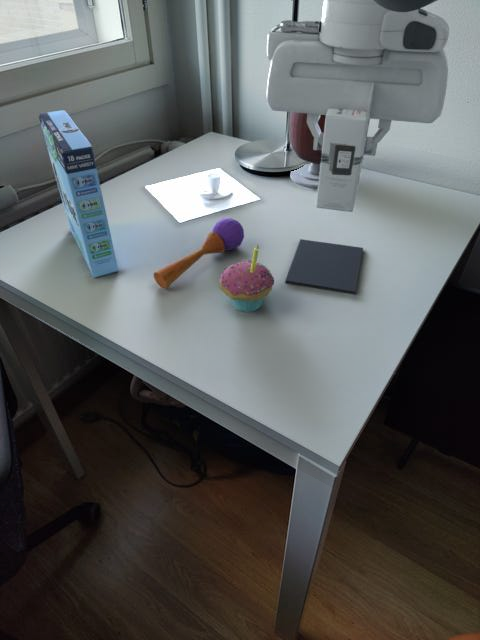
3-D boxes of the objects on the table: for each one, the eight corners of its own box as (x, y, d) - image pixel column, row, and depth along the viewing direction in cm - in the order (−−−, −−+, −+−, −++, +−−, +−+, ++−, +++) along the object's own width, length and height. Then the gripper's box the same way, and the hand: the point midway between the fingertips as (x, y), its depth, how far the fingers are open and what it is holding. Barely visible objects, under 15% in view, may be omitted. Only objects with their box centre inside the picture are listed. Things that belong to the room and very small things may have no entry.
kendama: (144, 261, 79) (224, 210, 89) (155, 290, 82) (231, 237, 92) (165, 269, 75) (246, 215, 85) (176, 299, 79) (253, 243, 88)
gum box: (70, 229, 95) (35, 113, 80) (94, 223, 97) (65, 108, 82) (93, 279, 82) (57, 151, 67) (121, 271, 84) (92, 145, 69)
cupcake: (281, 297, 77) (285, 235, 69) (255, 326, 72) (256, 263, 64) (238, 281, 81) (237, 220, 73) (210, 308, 75) (205, 245, 67)
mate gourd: (343, 191, 106) (356, 98, 93) (283, 186, 108) (287, 95, 95) (345, 164, 117) (357, 78, 104) (291, 160, 120) (296, 75, 106)
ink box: (324, 180, 66) (338, 66, 56) (359, 184, 65) (379, 68, 55) (314, 208, 60) (327, 85, 50) (352, 213, 59) (373, 88, 49)
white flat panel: (203, 204, 102) (202, 187, 99) (188, 191, 107) (186, 174, 105) (238, 195, 105) (237, 178, 103) (221, 182, 111) (220, 165, 108)
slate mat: (362, 250, 88) (363, 247, 87) (355, 294, 78) (355, 291, 77) (300, 241, 90) (300, 239, 90) (285, 283, 80) (285, 280, 80)
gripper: (261, 24, 49) (258, 152, 58) (465, 33, 45) (428, 170, 54) (274, 14, 54) (270, 135, 63) (460, 21, 49) (427, 149, 59)
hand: (344, 151), depth 58 cm, fingers closed on ink box, 5 cm apart
